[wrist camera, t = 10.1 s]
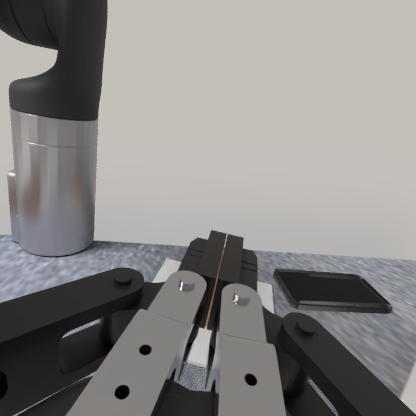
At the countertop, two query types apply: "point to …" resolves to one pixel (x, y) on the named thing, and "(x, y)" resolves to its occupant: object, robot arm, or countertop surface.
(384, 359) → the countertop surface
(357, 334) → the countertop surface
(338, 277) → the phone
